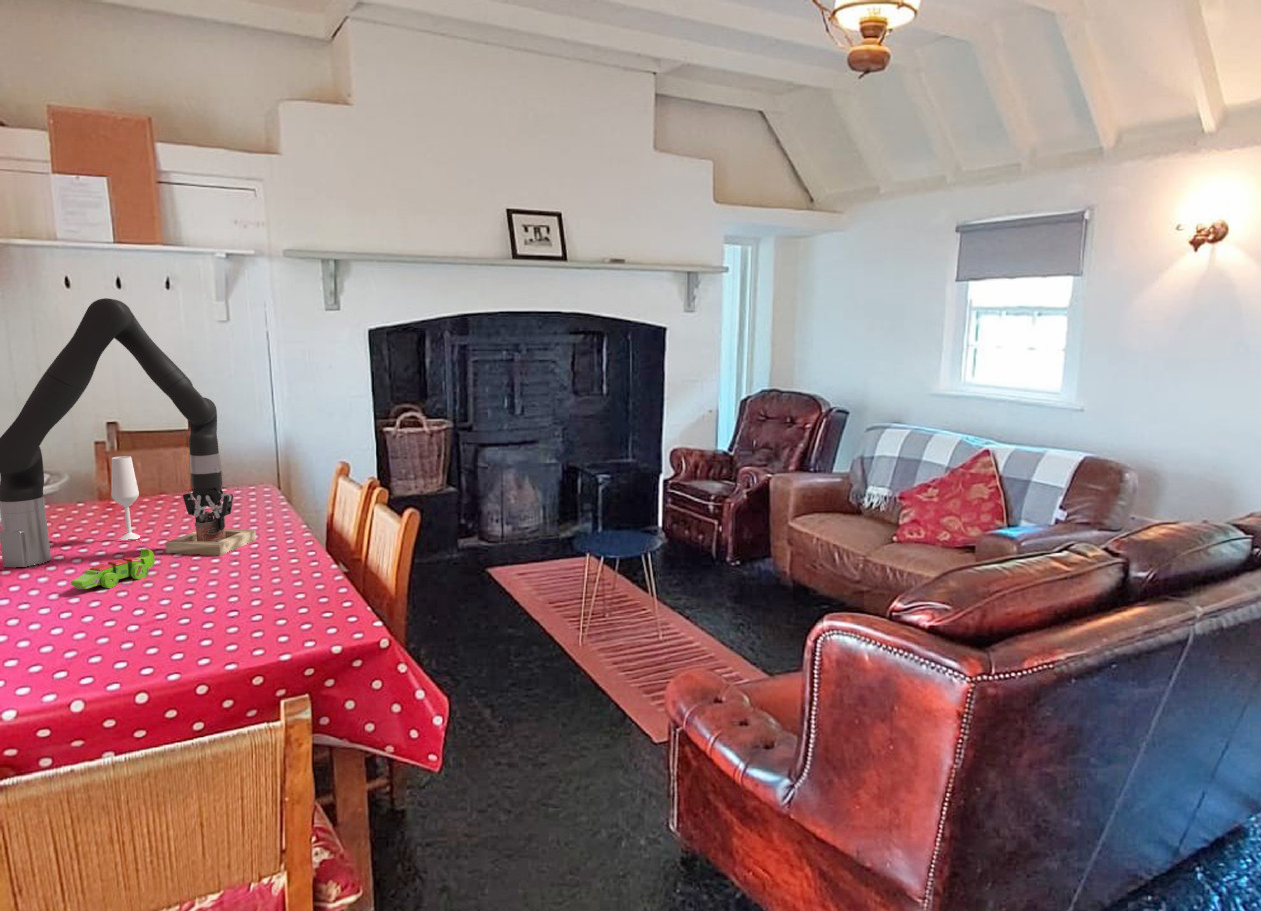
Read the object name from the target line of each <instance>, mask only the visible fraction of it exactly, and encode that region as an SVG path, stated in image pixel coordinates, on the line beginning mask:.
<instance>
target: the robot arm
mask: <svg viewBox="0 0 1261 911" xmlns="http://www.w3.org/2000/svg"><path fill="white" fill-rule="evenodd" d="M114 339H115V340H116V341H117V342H119V343H120V344H121V345H122V346H123V347H124V348H125V349H126V350H127V351H128V352H129V353H130V354H131V355H132V356H133V357H134V358H135V360H136V361H137V363H138V364H139V365H140V367H141V368H142V369H143V371H144V372H145V373H146V375H147V376H148V377H149V378H150V379H151V381H152V382H153V383H154V384H155V385H156V386H157V387H158V388H159V389H160V390H161V391H162V392H163V393H164V394H165V395H166V396H167V397H168V398H169V399H170V400H171V401H172V403H173V404H174V406H175V407H176V409H178V411H179V412H180V413H181V415H183V417H184V418H185V419H186V420H187V421H188V422H189V429H190V431H189V432H190V434H189V438H188V445H189V446H188V448H189V449H188V450H189V469H190V470H189V472H190V482H191V488H192V489H193V490H192V492H188V493H184V494H182V498H183V501H184V504H185V507H186V511H187V514H188V515H190V516H193V517H194V518H195V523H196V522H200V520H199V515H201V514H204V513H205V512H206V508H210V509H211V512H213V511H214V513H215V516H216V518H215V520H216V530H217V531H221V530H223V529H224V527H225V528H226V525H225V522H226V520H225V521H224V518H225V516H229V515H231V514H232V509H233V508H232V507H233V500H234V495H233V493H230V494H228V493H224V491H223V490H222V487H223V475H222V464H221V458H220V454H219V453H220V452H219V441H218V435H217V434H218V433H217V431H218V430H217V429H218V411H217V406H216V404H215V403H214V401H212V400H211V399H210V398H207V397H204V396H202V395H201V393H200V392H199V391H198V390H197V389H196V388H195V387H194V385H193V382H192V381H191V379H190V378H189V377H188V376H187V375H186V374H185V373H184V372H183V371H182V370H181V369H180V368H179V367H178V365H176V363H174V361H172V359H170V358H169V356H168V355H167V354H166V353H165V352H164V351H163V350H162V349H161V348H160V347H159V346H158V345H157V344H156V343H155V342H154V341H153V340H152V338H151V337H150V336H149V334H148V333H147V332H146V330H144V328H143V327H142V325H141V324H140V323H139V321H138V319H137V318H136V317H135V315H134V313H133V312H132V310H131V309H130V307H129V306H128V305H127V304H126V303H125V302H123V301H121V300H118V299H114V298H99V299H97V300H95V301H92V302H91V303H90V304H89V306H88V307H87V309H86V311H85V313H84V315H83V317H82V318H81V321H80V322H79V324H78V326H77V328H76V330H75V332H74V334H73V335H72V337H71V338H70V340H69V341H68V343H67V344H66V345H65V346H64V347H63V349H62V350H61V351H60V352H59V354H58V355H57V356H56V357H55V358H54V360H53V361H52V363H51V364H50V365H49V367H48V368H47V369H46V370H45V372H44V373H43V375H42V376H41V378H40V379H39V380H38V382H37V383H36V385H35V387H34V388H33V390H32V392H31V393H30V395H29V397H28V398H27V400H26V401H25V403H24V405H23V407H22V408H21V411H20V412H19V413H18V415H17V417H15V418H16V419H15V420H14V421H13V422H12V423H11V425H10V426H9V427H8V428H7V429H6V430H5V432H4V433H3V434H2V435H1V436H0V520H1V528H2V529H1V530H0V550H1V558H2V565H3V566H2V567H3V568H16V567H26V568H28V567H27V566H29V567H31V566H30V565H34V564H39V565H42V564H41V563H43V562H46V563H48V562H47V561H49V560H50V561H51V560H52V554H51V546H50V540H49V538H50V536H49V531H48V530H49V529H48V521H47V514H46V505H45V497H44V496H45V495H44V486H45V474H44V463H43V454H42V449H41V445H42V443H43V441H44V440H45V438H46V436H47V434H48V433H49V432H50V431H51V430H52V429H53V428H54V427H55V426H56V425H57V424H58V423H59V422H60V421H61V420H62V419H63V418H64V417H65V416H66V415H67V414H68V413H69V412H70V410H71V409H72V408H73V407H74V406H75V404H77V402H78V401H79V400H80V398H81V397H82V395H83V393H84V392H85V390H86V389H87V388H88V386H89V383H91V381H92V377H93V375H94V372H95V370H96V369H97V365H98V362H99V360H100V358H101V356H102V354H103V353H104V351H105V350H106V349H107V348H108V346H109V345H110V344H111V342H112V341H113V340H114ZM50 561H49V562H50ZM43 564H44V563H43Z"/></svg>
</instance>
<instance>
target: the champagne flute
mask: <svg viewBox="0 0 1261 911" xmlns="http://www.w3.org/2000/svg"><path fill="white" fill-rule="evenodd" d="M137 482H138V481H137V477H136V473H135V470H134V464H133V459H132V456H130V455H122V456H121V455H120V456H114V457H111V488H110V489H111V490H110V491H111V498H112V500H113V501H114V502H115V503H117V504H118V505H120V506H121V507H123V510H124V517H125V527H126V533H124V534H123V535H122V536H120V537H118V539H121V540H128V539H138V538H140V536H141V535H139V534H137V533H135V532H132V522H131V514H130V513H131V512H130V506H132V504H134V503H135V501H136V500H137V499H138V498H139V495H140V493H139V487H138V483H137Z"/></svg>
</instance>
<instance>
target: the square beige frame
mask: <svg viewBox="0 0 1261 911" xmlns="http://www.w3.org/2000/svg"><path fill="white" fill-rule="evenodd" d="M225 535H226V539H223V540H221V541H218V542H202V541H197V534H196V530H195V531H193V532H190V533H188V534H184V535H181V536H180V537H176V538H174V539H172V540H169V541H166V542H165V553H166V554H170V553H187V554H186V555H193V554H200V555H199V556H216V555H221V556H223V555H225V554H228V553H230V552H232V551H235V550H237V549H239V548H241V547H243V546H246V545H248V544H251V543H252V541H253V542H255V541H257V534H256V530H255V529H243V528H242V529H241V528H240V529H239V528H225ZM247 543H248V544H247ZM236 548H237V549H236ZM234 549H235V550H234ZM231 550H232V551H231ZM229 551H230V552H229ZM227 552H228V553H227ZM188 553H189V554H188Z"/></svg>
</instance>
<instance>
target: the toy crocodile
mask: <svg viewBox="0 0 1261 911" xmlns="http://www.w3.org/2000/svg"><path fill="white" fill-rule="evenodd" d="M155 562H156V558H155V553H154V552H153V551H152V550H151V549H149V548H148V549H147V548H141V549H140V554H139V556H138V557H129V558H128V557H124V558H123V559H119V558H117V559H114V560H110V561H108V562H107V563H105V564H104V563H101V564H98V565H97V564H96V566H92V567H90V569H86V570H85V572H84V573H83V574H82V575H80V576H78V577H77V578H75V579H72V580H71V581H70V584H71V586H73V587H74V588H75V589H84V590H87V589H91V588H94V587H97V586H100V585H101V587H103V588H105V589H113V588H115V587H116V586H117V585H118V584H119V580H122V579H125V578H128V577H131V578H132V579H135V580H142V578H143V579H145V578H146V577H147V576H148V575H149V569H150V568H152V567H153V566H154V565H155ZM130 575H131V576H130ZM114 586H115V587H114ZM112 587H113V588H112Z"/></svg>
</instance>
